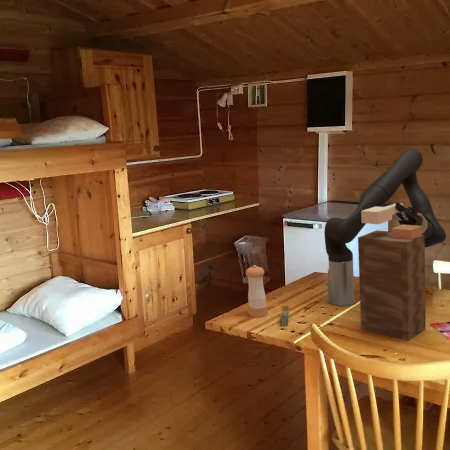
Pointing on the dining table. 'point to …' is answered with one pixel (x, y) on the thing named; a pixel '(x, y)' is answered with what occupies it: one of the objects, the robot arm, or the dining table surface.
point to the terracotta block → (406, 232)
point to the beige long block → (378, 214)
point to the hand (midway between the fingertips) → (392, 204)
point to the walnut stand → (392, 284)
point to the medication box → (284, 316)
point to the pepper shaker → (256, 292)
